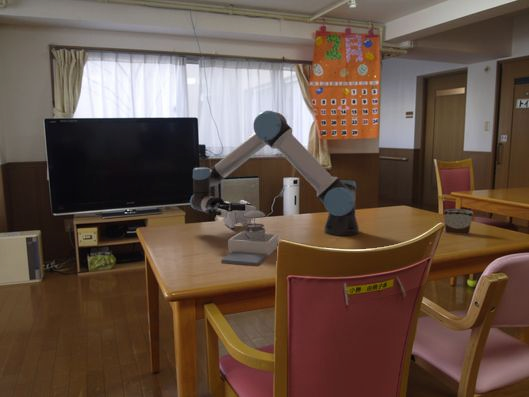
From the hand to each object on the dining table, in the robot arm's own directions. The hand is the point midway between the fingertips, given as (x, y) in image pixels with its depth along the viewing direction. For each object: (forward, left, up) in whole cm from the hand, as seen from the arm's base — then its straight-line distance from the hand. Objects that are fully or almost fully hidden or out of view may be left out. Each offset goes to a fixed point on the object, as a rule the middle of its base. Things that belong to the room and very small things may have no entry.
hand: (241, 212), depth 166 cm
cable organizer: (+15, -35, -14) cm, 40 cm away
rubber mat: (-8, +17, -13) cm, 23 cm away
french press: (-7, +4, -14) cm, 16 cm away
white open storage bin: (-7, +4, -13) cm, 16 cm away
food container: (-84, -48, -14) cm, 97 cm away
